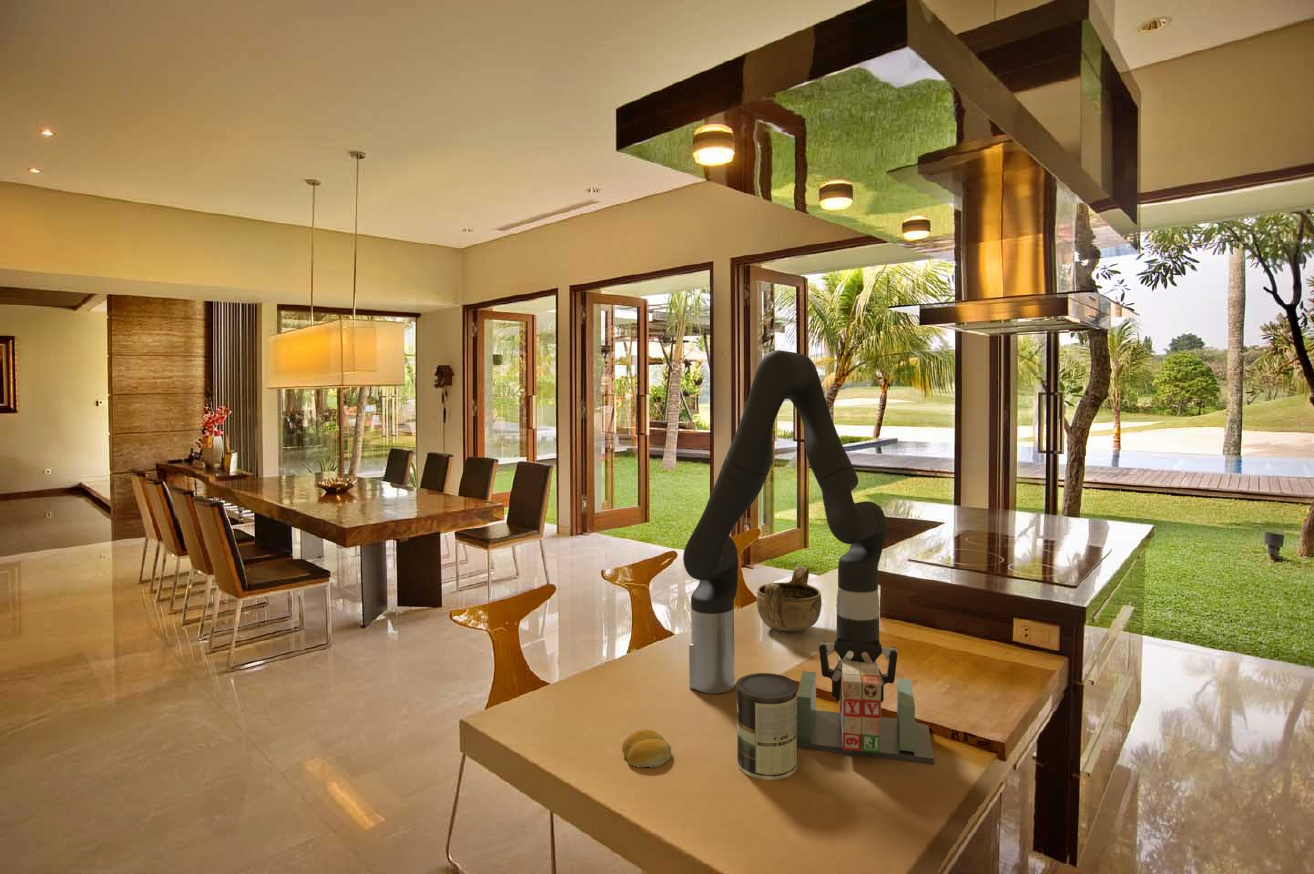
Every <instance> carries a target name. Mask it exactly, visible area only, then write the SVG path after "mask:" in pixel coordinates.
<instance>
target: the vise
mask: <svg viewBox="0 0 1314 874" xmlns="http://www.w3.org/2000/svg"><path fill="white" fill-rule="evenodd" d="M816 673H817V672H816V671H808V670H807V671H805V670H803V671H802V672H801V676H800V681H799V686H798V688H797V693H796V696H797V749H805V750H814V751H822V752H828V753H837V754H847V755H854V756H861V757H862V756H863V757H868V758H869V757H870V758H878V759H887V760H895V761H896V760H897V761H902V762H903V761H904V762H911V763H919V764H928V765H934V764H935V761H934V760H935V759H934V758H935V757H934V751H933V745H932V741H931V734H930V729H929V724H928V725H925V724H921V723H917V722H915V752H912V751H903V750H899V739H898V726H897V718H896V717H895V718H894V717H893V718H892V717H886V716H885V717H884V716H881V717H880V753H879V752H867V751H854V750H844V749H843V745H842V727H841V717H840V711H838V712H836V711H829V710H828V711H827V710H819V709H817V683H816V681H817V679H816V678H817V676H816V675H817V674H816Z"/></svg>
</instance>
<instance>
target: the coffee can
mask: <svg viewBox="0 0 1314 874" xmlns="http://www.w3.org/2000/svg"><path fill="white" fill-rule="evenodd" d="M735 689H736V730H737V731H736V732H737V733H736V735H737V738H736V739H737V741H736V742H737V751H736V752H737V753H736V755H737V756H736V758H737V759H736V763H737V765H736V766H737V767H738V770H740V771H741V772H742V773H743V774H744V775H746V776H748V777H750V778H754V779H757V780H761V781H780V780H783V779H787V778H789V777H791V776H792V775H793V774H795V773H796V771H797V769H798V761H797V759H798V758H797V756H798V755H797V752H798V748H797V693H798V684H797V683H796V682H795V681H794V680H793V679H792V678H790V677H789V676H785V675H782V674H778V673H777V674H776V673H771V672H756V673H750V674H747V675H744V676H742V677H741V676H740V678H739V679H737V681H736V682H735Z"/></svg>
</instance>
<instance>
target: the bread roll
mask: <svg viewBox="0 0 1314 874" xmlns="http://www.w3.org/2000/svg"><path fill="white" fill-rule="evenodd" d="M621 749H622V753H623V755H624V757H625V758H626V759H627V762H628V764H630V765H631V766H632V765H633V766H632V767H635V766H639V767H638V768H640V767H650V768H649V769H653V768H652V767H655V768H658V767H660V766H659V765H661V766H663V765H664V764H666V762H668V761H669V759H670V758H671V756H672V747H671V745H670V743H668V742H667V741H666V739H665V738H664V737H663V735H661V734H660V733H659V732H657V731H655V730H653V729H646V728H645V729H639V730H635V731H634V732H632V733H630V734H629V735H628V736H627V737H626V738H625V740H624V741H623V743H622V747H621ZM662 764H663V765H662ZM657 766H658V767H657Z"/></svg>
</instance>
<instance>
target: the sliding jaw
mask: <svg viewBox="0 0 1314 874" xmlns="http://www.w3.org/2000/svg"><path fill="white" fill-rule="evenodd" d="M915 705H916V704H915V697H914V691H913V683H912V679H910V678H899V677H897V678H896V719H897V726H898V739H899V750H903V751H912V752H915V721H916V707H915Z"/></svg>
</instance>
